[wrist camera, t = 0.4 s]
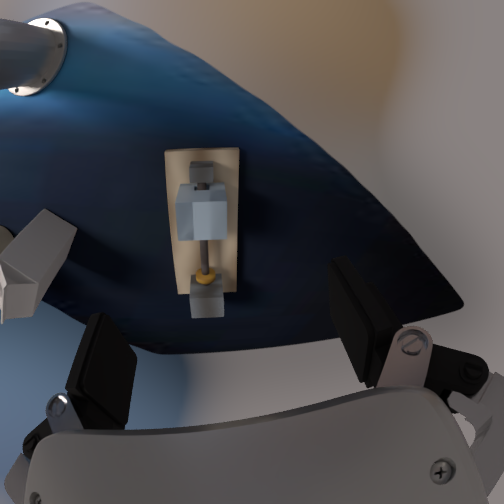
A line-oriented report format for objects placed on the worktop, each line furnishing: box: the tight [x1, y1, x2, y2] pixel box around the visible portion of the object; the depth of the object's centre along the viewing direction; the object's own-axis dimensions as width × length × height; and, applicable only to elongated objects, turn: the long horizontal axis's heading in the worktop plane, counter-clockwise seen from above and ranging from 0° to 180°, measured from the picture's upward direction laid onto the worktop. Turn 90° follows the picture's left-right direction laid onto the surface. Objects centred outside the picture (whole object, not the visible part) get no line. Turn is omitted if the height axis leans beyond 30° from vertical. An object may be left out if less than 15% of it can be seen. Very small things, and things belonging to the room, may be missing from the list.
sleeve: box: [175, 182, 227, 241], centre depth 37 cm, size 6×5×7 cm
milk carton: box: [0, 209, 77, 324], centre depth 33 cm, size 7×7×19 cm
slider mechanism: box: [165, 148, 239, 318], centre depth 41 cm, size 10×24×8 cm, turn 178°
